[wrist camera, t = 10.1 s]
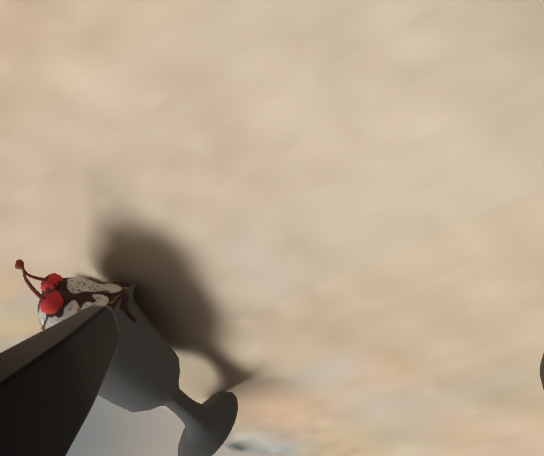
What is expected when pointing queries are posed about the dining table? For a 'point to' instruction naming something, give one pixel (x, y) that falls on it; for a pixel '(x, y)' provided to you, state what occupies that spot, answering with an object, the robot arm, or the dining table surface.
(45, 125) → the dining table surface
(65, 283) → the sundae
